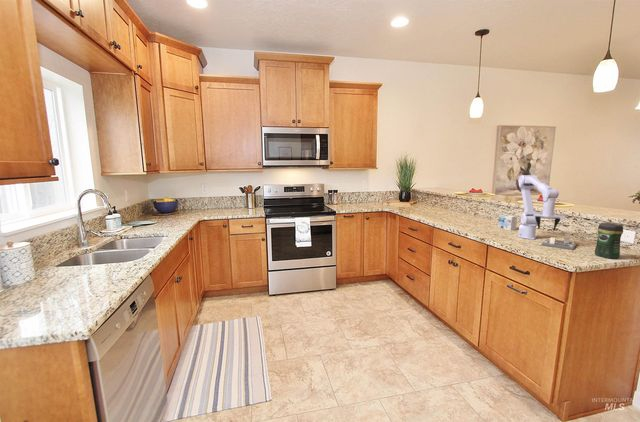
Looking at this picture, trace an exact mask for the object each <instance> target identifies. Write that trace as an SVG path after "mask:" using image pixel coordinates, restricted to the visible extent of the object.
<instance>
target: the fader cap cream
mask: <svg viewBox="0 0 640 422" xmlns="http://www.w3.org/2000/svg"><path fill="white" fill-rule="evenodd" d="M549 239H550V244H555V240H557V238H556V237H550V238H549Z"/></svg>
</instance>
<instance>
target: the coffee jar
mask: <svg viewBox="0 0 640 422" xmlns="http://www.w3.org/2000/svg"><path fill="white" fill-rule="evenodd" d="M597 231H598V232H597V240H596V246H595V250H594V255H595V256H598V257H601V258H606V259H612V260H615V259H619V258H620V256H621V238H622V235H623V233H624V226H623V225H621V224H618V223H617V224H616V223H611V222H610V223H609V222H600V223H599V224H598V228H597Z"/></svg>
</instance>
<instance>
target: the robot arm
mask: <svg viewBox="0 0 640 422" xmlns="http://www.w3.org/2000/svg"><path fill="white" fill-rule="evenodd" d="M517 181H518V186H519V187H518V188H519V189H520V192H521V199H522V205H523V210H524V211H523V212H522V213H521V214H520V223H521V224H520V225H519V227H518V235H517V238H522V239H526V240H527V239H529V240H535V239H537V236H536V232H537V230H536V229H538V230H540V229H541V220H542V219H553V220H554V225H553V231H554V232H555V231H556V228H557V225H558V224H559V223H560V221H562V220H563V219H564V216H563V215H562V216H561V215H555V207H556V199H558V197H559V195H560V194H559V190H558V189H557V188H552V187H551V186H549V185H548V183H545V182H541V180H539V176H537V175H536V174H530V175H529V174H527V175H526V174H525V175H524V174H521V175H519V177H518V180H517ZM534 187H536V189H537V191H539V193H540V194H541V196H542V202H543V203H542V205H543V206H542V212H541V213H542V214H539V213H538V212H536V211H535V210H534V204H533V199H532V193H531V189H533V188H534Z"/></svg>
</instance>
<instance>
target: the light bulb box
mask: <svg viewBox="0 0 640 422" xmlns="http://www.w3.org/2000/svg"><path fill="white" fill-rule="evenodd" d="M517 221H518V216H515V215H509V214H499V215H498V225H497V229H501V228H502V230H505V229H507V230H506V231H510V230H511V231H515V229H516V230H517V224H518V223H517Z"/></svg>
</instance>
